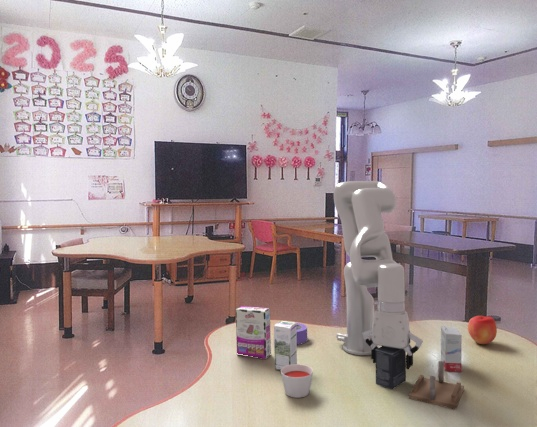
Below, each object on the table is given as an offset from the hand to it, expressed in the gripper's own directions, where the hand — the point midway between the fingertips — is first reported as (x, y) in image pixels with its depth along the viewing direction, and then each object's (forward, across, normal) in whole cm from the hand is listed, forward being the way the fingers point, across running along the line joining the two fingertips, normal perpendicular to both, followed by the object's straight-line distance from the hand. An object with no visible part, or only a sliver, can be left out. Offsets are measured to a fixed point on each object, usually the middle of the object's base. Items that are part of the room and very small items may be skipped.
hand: (391, 364), depth 130 cm
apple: (+5, +18, +49) cm, 52 cm away
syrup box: (+5, -33, -5) cm, 33 cm away
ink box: (+6, +12, +22) cm, 26 cm away
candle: (+6, -22, -18) cm, 29 cm away
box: (+6, -1, +1) cm, 6 cm away
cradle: (+6, +12, 0) cm, 14 cm away
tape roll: (+5, -44, +19) cm, 48 cm away
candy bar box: (+5, -48, -1) cm, 48 cm away
